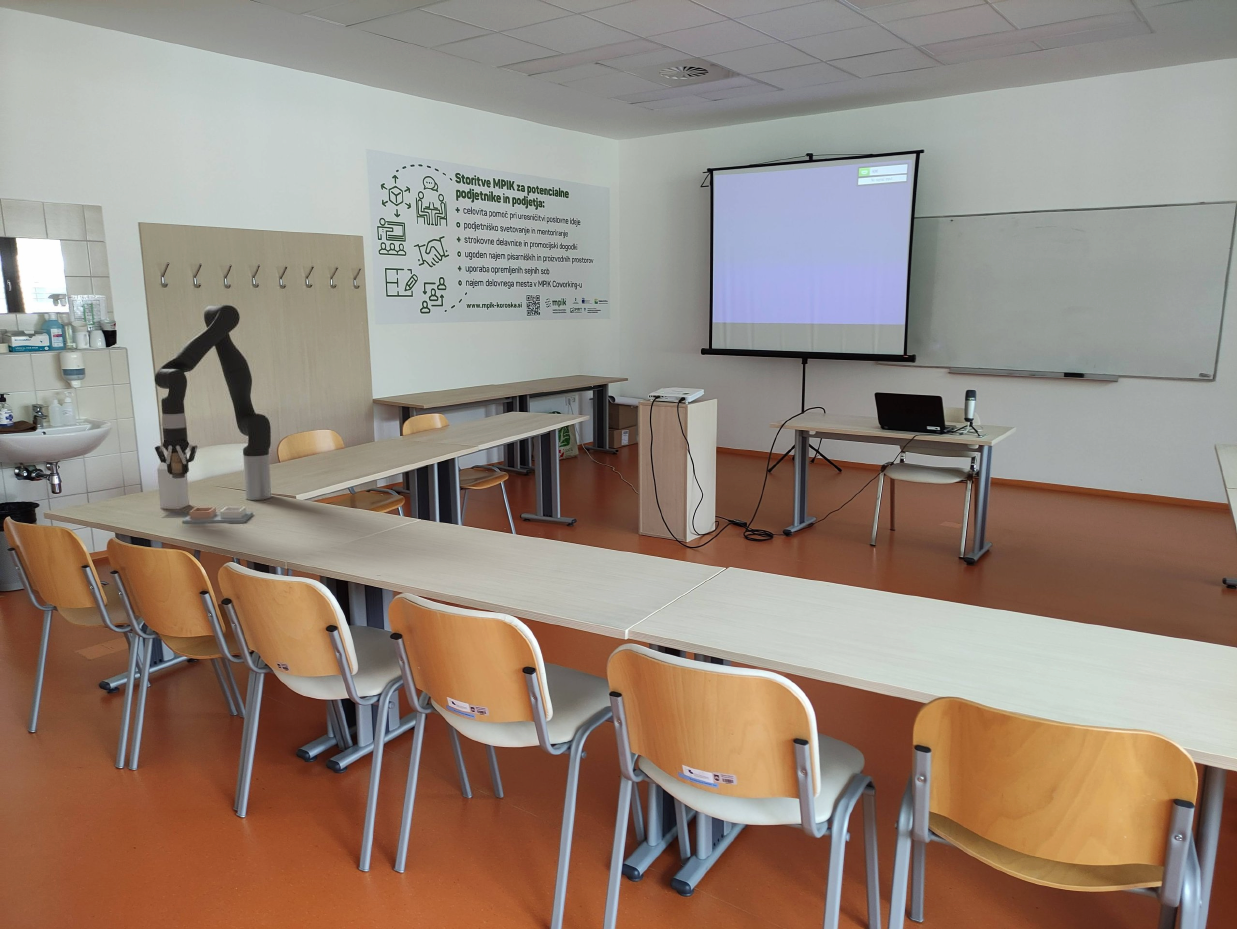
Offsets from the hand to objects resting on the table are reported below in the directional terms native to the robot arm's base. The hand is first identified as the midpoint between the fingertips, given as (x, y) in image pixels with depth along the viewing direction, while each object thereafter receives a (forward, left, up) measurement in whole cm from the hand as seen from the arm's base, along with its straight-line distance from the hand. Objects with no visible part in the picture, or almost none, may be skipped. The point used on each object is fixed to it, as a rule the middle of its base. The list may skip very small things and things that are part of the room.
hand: (178, 473), depth 300 cm
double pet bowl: (+7, +14, -15) cm, 22 cm away
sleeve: (0, 0, -1) cm, 1 cm away
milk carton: (-13, -7, -15) cm, 21 cm away
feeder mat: (0, -1, -15) cm, 15 cm away
